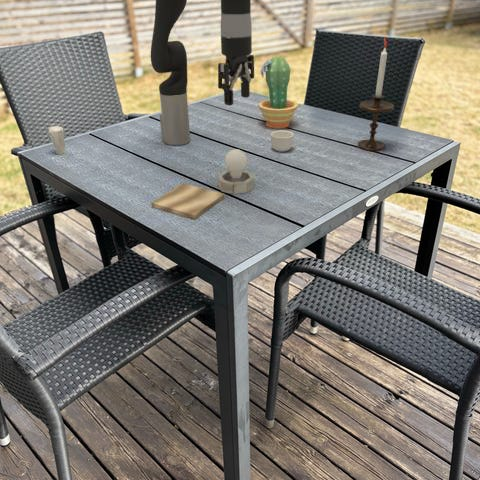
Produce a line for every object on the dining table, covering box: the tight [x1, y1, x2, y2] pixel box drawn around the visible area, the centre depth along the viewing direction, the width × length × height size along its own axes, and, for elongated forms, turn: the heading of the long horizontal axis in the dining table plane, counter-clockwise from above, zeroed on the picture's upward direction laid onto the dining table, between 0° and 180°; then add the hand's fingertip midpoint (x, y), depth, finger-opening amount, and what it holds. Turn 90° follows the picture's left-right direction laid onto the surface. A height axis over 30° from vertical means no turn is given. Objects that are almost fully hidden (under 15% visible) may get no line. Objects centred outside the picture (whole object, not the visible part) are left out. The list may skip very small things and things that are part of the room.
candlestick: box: [357, 37, 395, 152], centre depth 150 cm, size 11×11×35 cm
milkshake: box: [48, 121, 67, 155], centre depth 156 cm, size 4×5×10 cm
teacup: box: [270, 129, 295, 153], centre depth 158 cm, size 10×8×5 cm
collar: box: [217, 169, 256, 195], centre depth 133 cm, size 10×10×3 cm
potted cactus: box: [257, 55, 299, 130], centre depth 175 cm, size 15×15×25 cm
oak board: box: [151, 183, 225, 220], centre depth 125 cm, size 14×14×1 cm
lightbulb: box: [224, 148, 248, 183], centre depth 131 cm, size 6×6×11 cm
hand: (237, 100), depth 121 cm, fingers open, 8 cm apart
